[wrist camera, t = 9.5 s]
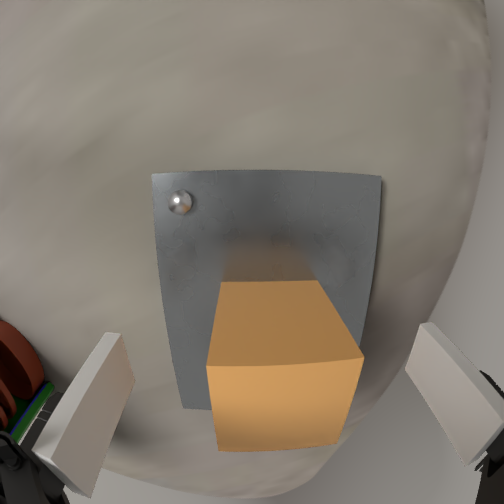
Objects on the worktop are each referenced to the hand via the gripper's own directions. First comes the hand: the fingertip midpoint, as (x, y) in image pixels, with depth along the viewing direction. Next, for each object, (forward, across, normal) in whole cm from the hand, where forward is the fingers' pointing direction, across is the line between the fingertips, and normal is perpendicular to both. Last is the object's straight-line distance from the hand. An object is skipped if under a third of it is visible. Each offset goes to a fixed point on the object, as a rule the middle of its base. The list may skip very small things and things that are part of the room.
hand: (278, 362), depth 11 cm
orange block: (+5, 0, -1) cm, 5 cm away
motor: (+6, -24, -8) cm, 26 cm away
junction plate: (+6, 0, -1) cm, 6 cm away
